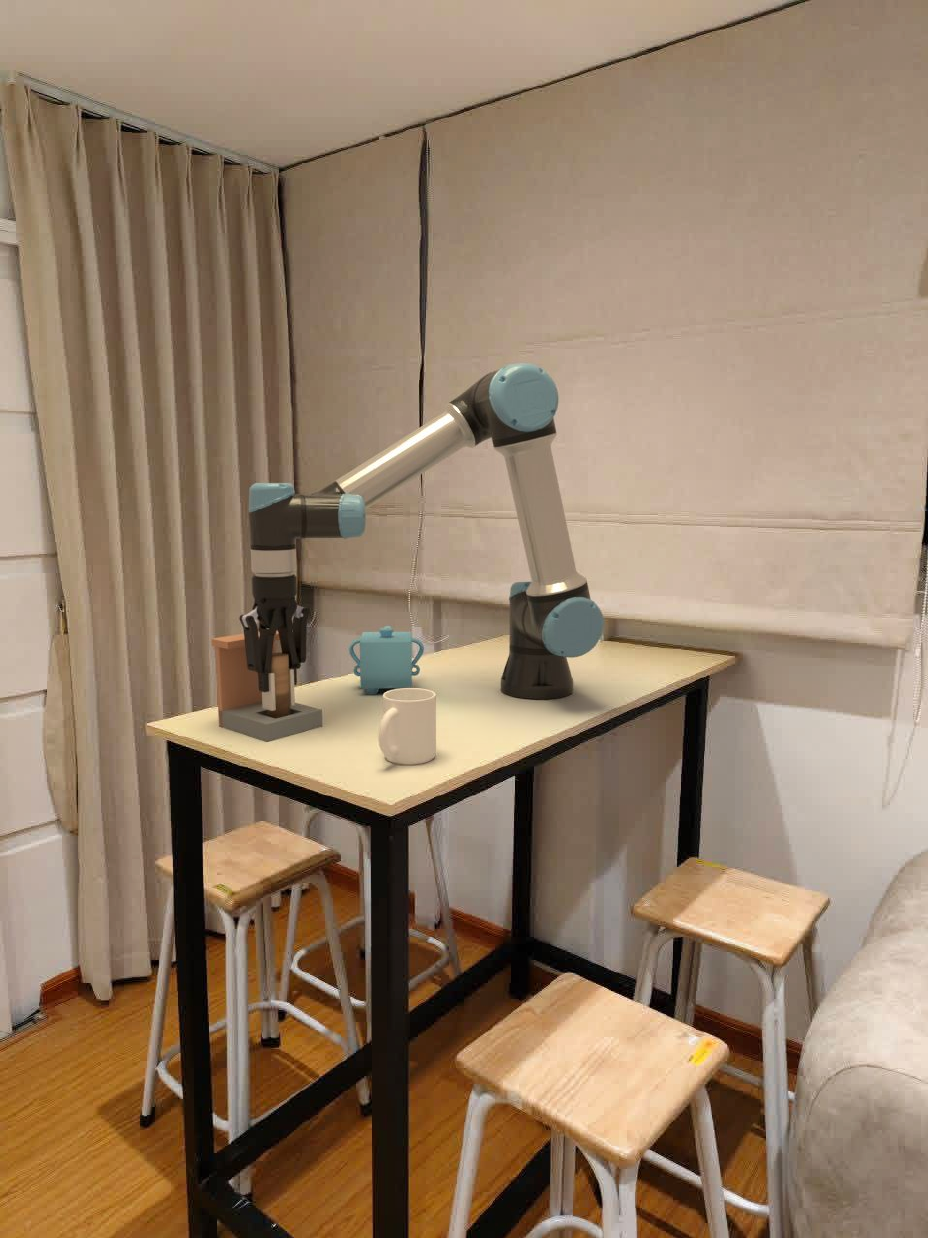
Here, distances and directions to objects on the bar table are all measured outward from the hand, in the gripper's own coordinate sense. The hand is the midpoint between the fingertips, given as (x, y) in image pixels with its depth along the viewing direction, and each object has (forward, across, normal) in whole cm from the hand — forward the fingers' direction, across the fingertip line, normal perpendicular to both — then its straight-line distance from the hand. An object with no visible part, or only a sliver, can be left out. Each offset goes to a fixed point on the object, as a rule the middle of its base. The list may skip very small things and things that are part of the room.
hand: (278, 706), depth 150 cm
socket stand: (+4, 0, -2) cm, 5 cm away
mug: (+4, -2, +28) cm, 29 cm away
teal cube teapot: (+4, -35, -8) cm, 36 cm away
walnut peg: (+4, 0, 0) cm, 4 cm away
